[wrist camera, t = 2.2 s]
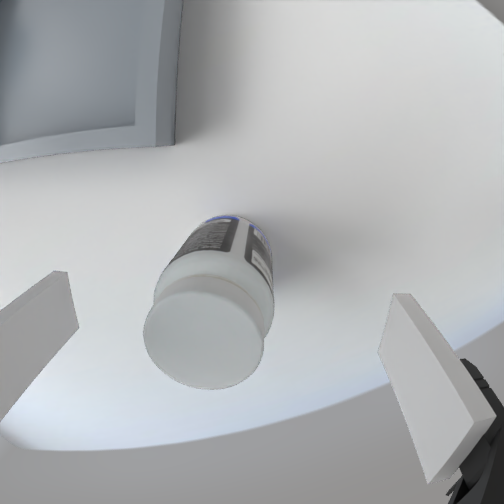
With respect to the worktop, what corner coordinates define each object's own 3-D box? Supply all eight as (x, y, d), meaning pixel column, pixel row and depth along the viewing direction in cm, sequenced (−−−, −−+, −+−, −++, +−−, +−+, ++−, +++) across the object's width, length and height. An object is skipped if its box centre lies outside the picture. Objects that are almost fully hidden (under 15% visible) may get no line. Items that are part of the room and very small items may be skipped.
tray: (-19, 166, 16) (-46, 172, 13) (5, -20, 11) (-17, -28, 8) (174, 145, 16) (155, 146, 13) (195, -84, 10) (185, -109, 7)
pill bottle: (178, 277, 18) (122, 369, 10) (201, 201, 17) (144, 257, 9) (254, 304, 19) (245, 412, 11) (285, 232, 17) (299, 313, 9)
